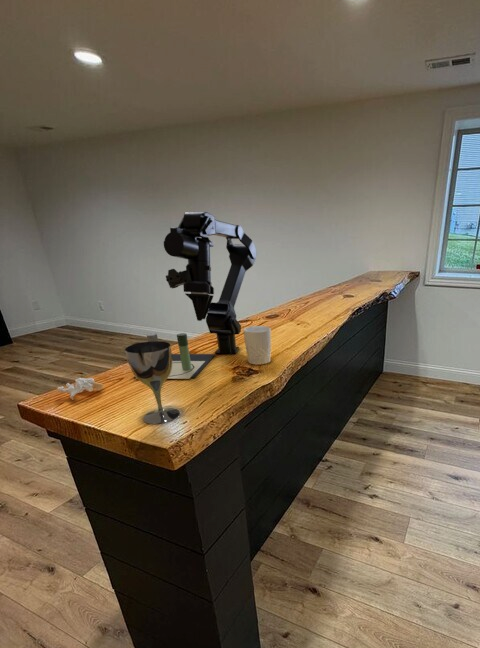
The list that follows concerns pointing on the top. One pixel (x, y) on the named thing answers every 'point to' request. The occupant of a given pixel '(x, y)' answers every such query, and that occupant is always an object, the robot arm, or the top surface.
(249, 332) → the white cup
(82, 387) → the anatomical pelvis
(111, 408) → the top surface
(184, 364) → the sage-green marker
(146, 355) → the wine glass
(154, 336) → the cylinder
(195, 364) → the sketch pad
